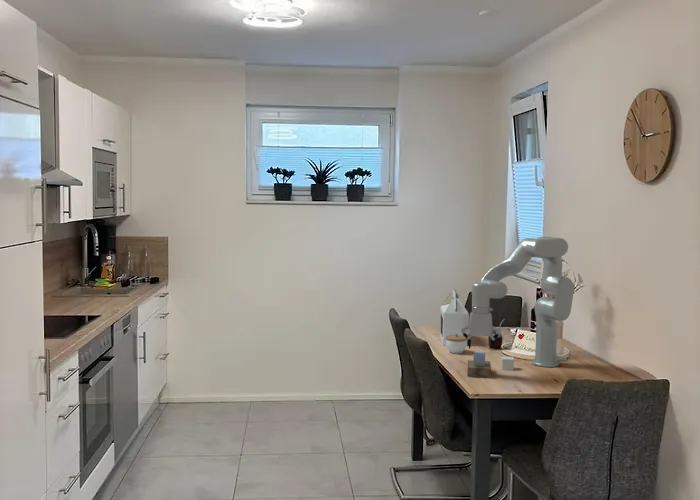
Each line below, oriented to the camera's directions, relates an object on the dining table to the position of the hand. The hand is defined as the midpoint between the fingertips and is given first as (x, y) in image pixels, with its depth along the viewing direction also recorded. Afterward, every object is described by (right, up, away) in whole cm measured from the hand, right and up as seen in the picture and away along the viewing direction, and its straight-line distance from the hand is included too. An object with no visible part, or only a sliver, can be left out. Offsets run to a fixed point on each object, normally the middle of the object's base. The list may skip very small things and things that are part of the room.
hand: (480, 348), depth 292 cm
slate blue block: (-1, -7, 0) cm, 7 cm away
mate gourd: (+18, -8, +49) cm, 53 cm away
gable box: (-2, -6, +65) cm, 65 cm away
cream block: (+14, -11, +9) cm, 20 cm away
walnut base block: (-1, -11, +1) cm, 11 cm away
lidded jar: (-4, -8, +40) cm, 41 cm away
